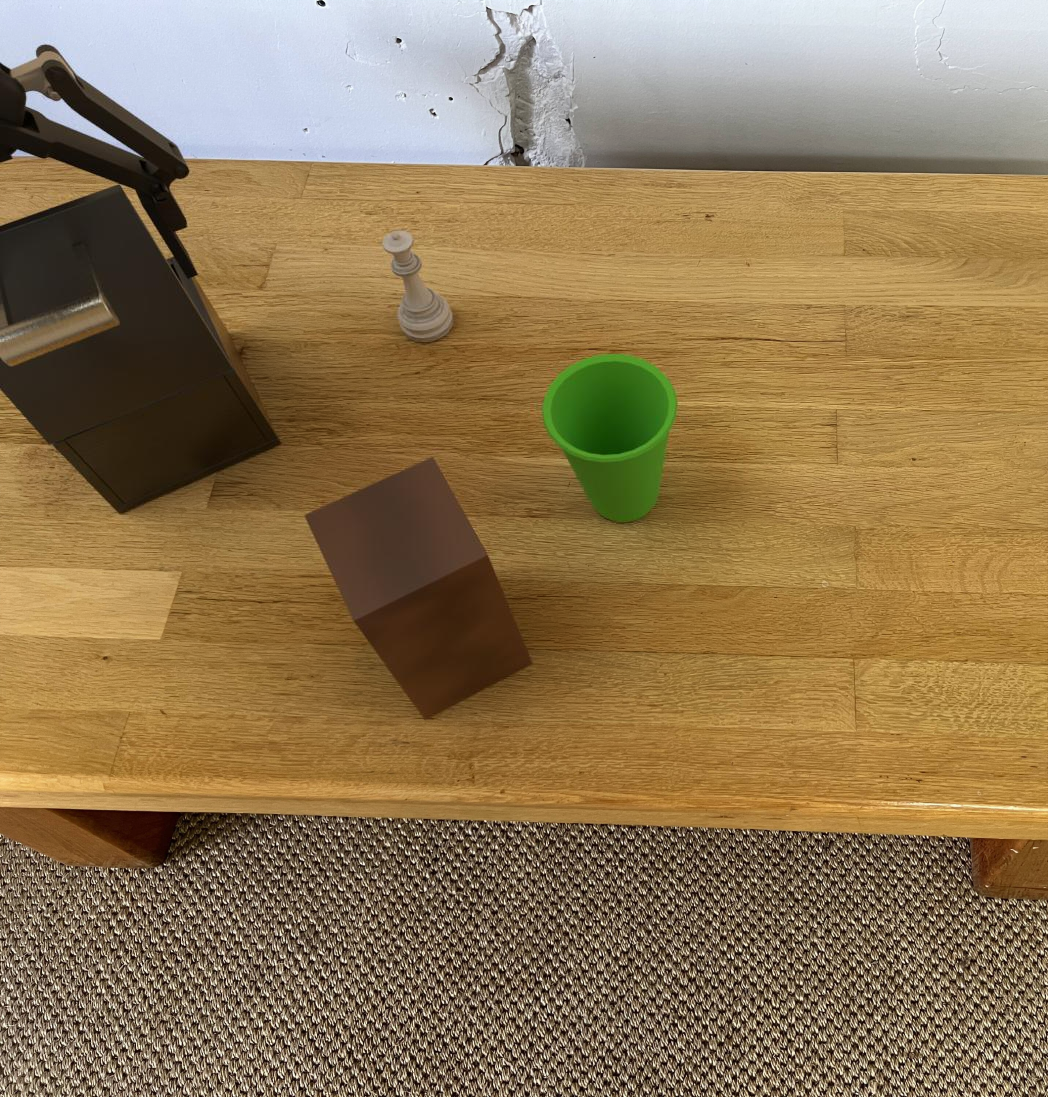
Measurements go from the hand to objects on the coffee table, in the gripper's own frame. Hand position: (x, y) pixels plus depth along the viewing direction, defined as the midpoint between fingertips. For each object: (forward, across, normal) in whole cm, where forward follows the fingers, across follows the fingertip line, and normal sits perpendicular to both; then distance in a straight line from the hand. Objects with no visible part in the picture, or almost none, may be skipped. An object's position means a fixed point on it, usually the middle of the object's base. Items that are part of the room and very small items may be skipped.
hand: (90, 302), depth 71 cm
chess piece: (+12, -21, +2) cm, 24 cm away
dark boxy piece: (+12, 0, +1) cm, 12 cm away
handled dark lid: (-4, 0, +6) cm, 8 cm away
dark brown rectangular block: (+12, -11, +31) cm, 35 cm away
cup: (+12, -27, +26) cm, 39 cm away
